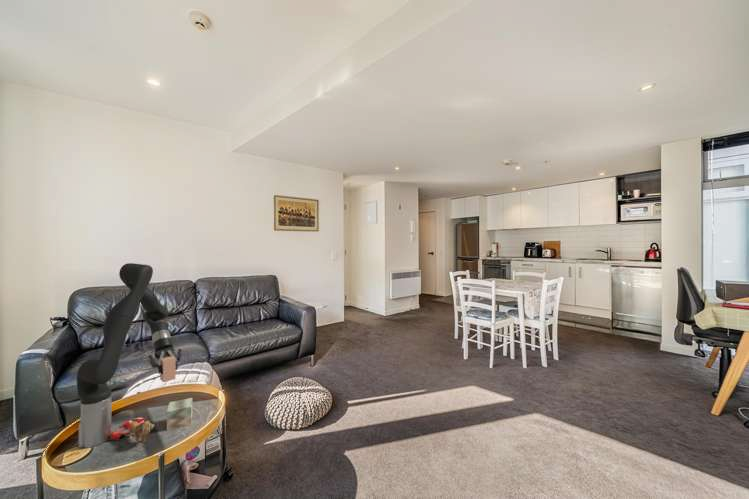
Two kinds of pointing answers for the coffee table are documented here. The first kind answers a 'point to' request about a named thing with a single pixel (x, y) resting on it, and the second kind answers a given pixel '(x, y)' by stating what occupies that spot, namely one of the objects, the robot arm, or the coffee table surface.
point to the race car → (125, 429)
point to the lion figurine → (139, 431)
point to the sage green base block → (179, 413)
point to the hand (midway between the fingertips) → (169, 371)
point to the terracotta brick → (168, 368)
